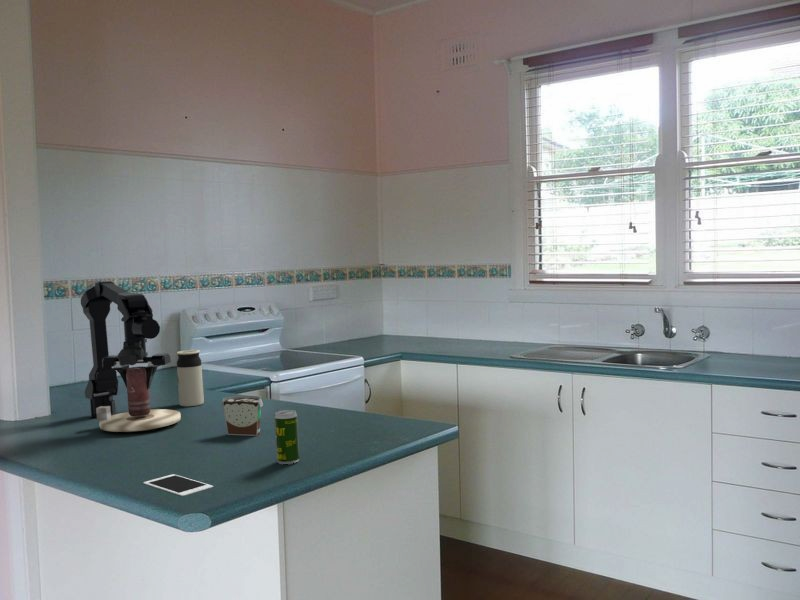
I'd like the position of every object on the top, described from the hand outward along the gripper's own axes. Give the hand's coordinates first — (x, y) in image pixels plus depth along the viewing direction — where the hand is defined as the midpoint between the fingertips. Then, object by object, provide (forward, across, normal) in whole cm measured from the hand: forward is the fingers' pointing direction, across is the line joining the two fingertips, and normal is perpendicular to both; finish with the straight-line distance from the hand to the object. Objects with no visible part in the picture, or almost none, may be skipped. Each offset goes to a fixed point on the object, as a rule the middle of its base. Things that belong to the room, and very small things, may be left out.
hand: (138, 389), depth 236 cm
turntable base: (+11, 0, 0) cm, 11 cm away
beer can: (+11, +52, -45) cm, 70 cm away
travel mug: (+12, +6, +31) cm, 34 cm away
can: (+8, 0, 0) cm, 8 cm away
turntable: (+10, 0, 0) cm, 10 cm away
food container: (+11, +35, -13) cm, 39 cm away
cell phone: (+12, +30, -61) cm, 69 cm away
